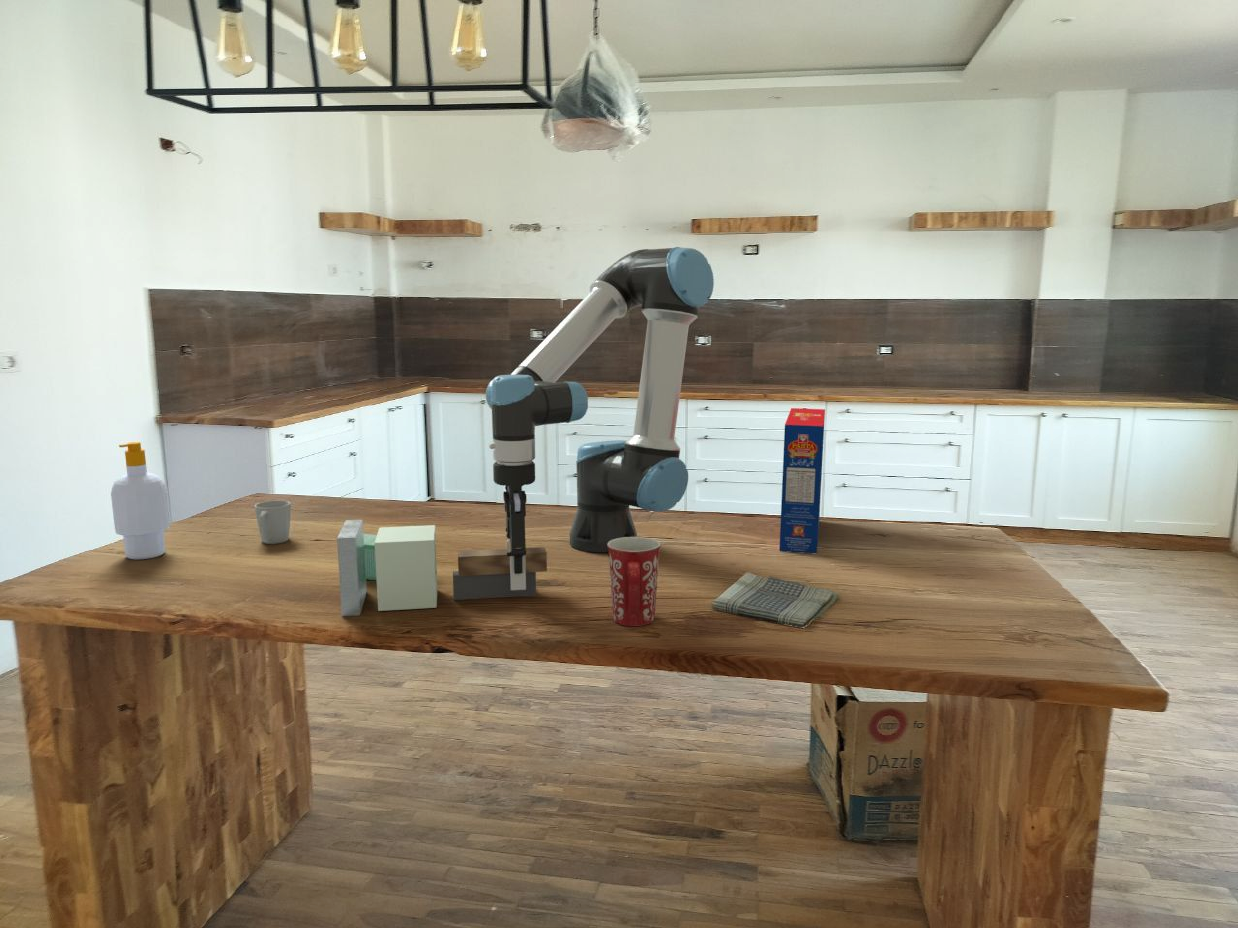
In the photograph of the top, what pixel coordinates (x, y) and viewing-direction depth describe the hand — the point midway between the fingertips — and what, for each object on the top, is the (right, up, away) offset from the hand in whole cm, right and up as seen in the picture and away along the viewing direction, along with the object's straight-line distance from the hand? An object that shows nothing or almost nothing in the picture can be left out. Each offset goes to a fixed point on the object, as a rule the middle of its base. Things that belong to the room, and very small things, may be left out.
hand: (516, 580), depth 158 cm
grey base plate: (-28, -3, -5) cm, 29 cm away
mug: (+21, -6, -13) cm, 26 cm away
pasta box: (+61, +5, +41) cm, 74 cm away
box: (-27, -1, +11) cm, 29 cm away
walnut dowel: (-2, +2, -1) cm, 3 cm away
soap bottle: (-81, +2, +23) cm, 85 cm away
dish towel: (+48, -4, -3) cm, 48 cm away
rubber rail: (-4, -3, 0) cm, 5 cm away
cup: (-58, +4, +33) cm, 67 cm away
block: (-19, -3, -3) cm, 20 cm away
